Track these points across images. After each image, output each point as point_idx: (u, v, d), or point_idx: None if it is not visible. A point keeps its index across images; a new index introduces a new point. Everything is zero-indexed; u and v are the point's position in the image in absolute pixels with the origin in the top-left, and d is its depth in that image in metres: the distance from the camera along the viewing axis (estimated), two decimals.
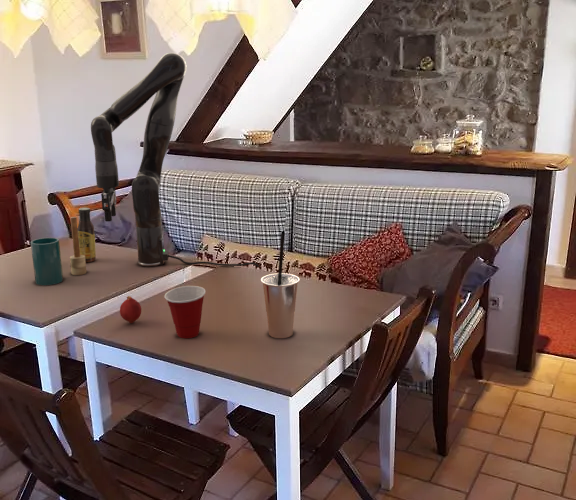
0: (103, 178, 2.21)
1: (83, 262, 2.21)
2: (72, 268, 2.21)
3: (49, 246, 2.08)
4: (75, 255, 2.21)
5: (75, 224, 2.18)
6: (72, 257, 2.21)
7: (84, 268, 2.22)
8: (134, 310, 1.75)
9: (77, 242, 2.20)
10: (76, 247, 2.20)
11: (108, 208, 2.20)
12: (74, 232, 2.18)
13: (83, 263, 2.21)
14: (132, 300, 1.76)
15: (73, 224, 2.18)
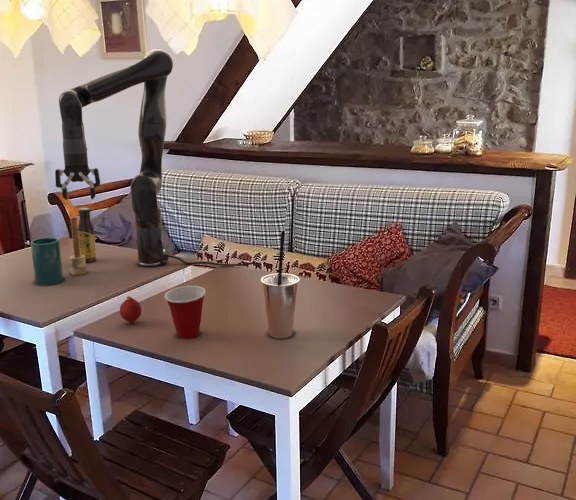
0: None
1: (83, 262, 2.21)
2: (72, 268, 2.21)
3: (49, 246, 2.08)
4: (75, 255, 2.21)
5: (75, 224, 2.18)
6: (72, 257, 2.21)
7: (84, 268, 2.22)
8: (133, 310, 1.75)
9: (77, 242, 2.20)
10: (76, 247, 2.20)
11: None
12: (74, 232, 2.18)
13: (83, 263, 2.21)
14: (132, 300, 1.76)
15: (73, 224, 2.18)
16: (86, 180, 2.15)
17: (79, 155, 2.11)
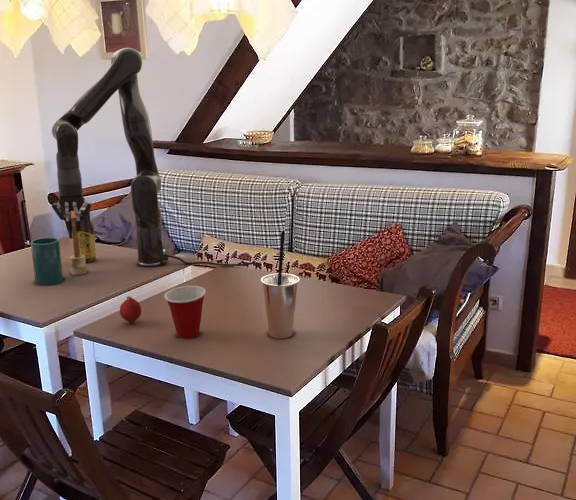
0: None
1: (83, 262, 2.21)
2: (72, 268, 2.21)
3: (49, 246, 2.08)
4: (75, 255, 2.21)
5: (75, 224, 2.18)
6: (72, 257, 2.21)
7: (84, 268, 2.22)
8: (134, 310, 1.75)
9: (77, 242, 2.20)
10: (76, 247, 2.20)
11: None
12: (74, 232, 2.18)
13: (83, 263, 2.21)
14: (132, 300, 1.76)
15: (73, 224, 2.18)
16: (76, 212, 2.16)
17: (73, 185, 2.12)
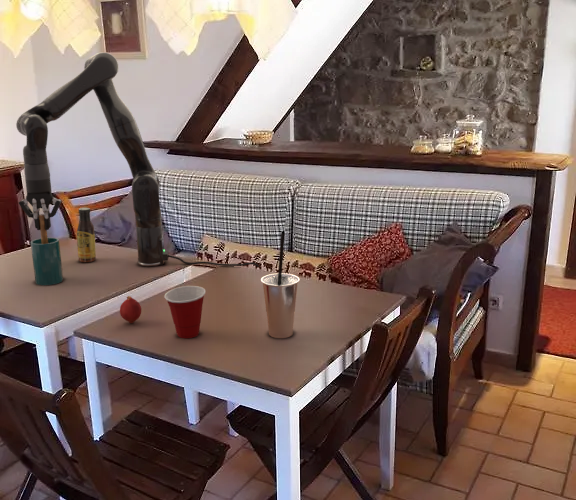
0: None
1: None
2: None
3: (49, 246, 2.08)
4: None
5: (43, 222, 2.09)
6: None
7: None
8: (134, 310, 1.75)
9: (46, 241, 2.11)
10: None
11: None
12: (42, 230, 2.09)
13: None
14: (132, 300, 1.76)
15: (41, 221, 2.09)
16: (44, 209, 2.07)
17: (40, 181, 2.03)
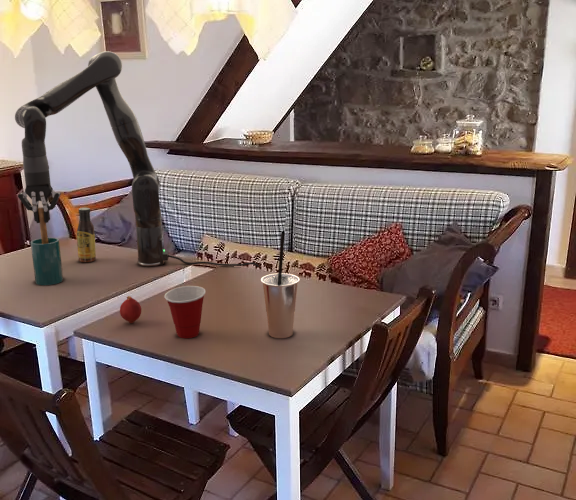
0: None
1: None
2: None
3: (49, 246, 2.08)
4: None
5: (43, 215, 2.08)
6: None
7: None
8: (134, 310, 1.75)
9: (45, 234, 2.10)
10: (45, 239, 2.10)
11: None
12: (42, 223, 2.09)
13: None
14: (132, 300, 1.76)
15: (40, 214, 2.08)
16: (43, 202, 2.06)
17: (39, 174, 2.02)
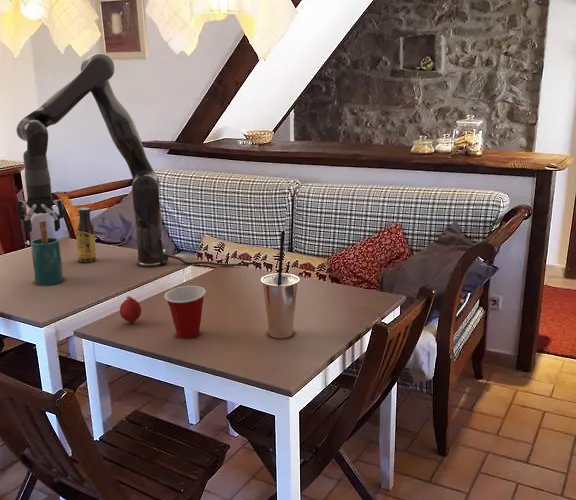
0: None
1: None
2: None
3: (49, 246, 2.08)
4: None
5: (44, 228, 2.10)
6: None
7: None
8: (134, 310, 1.75)
9: None
10: None
11: None
12: (43, 236, 2.10)
13: None
14: (132, 300, 1.76)
15: (42, 227, 2.09)
16: (49, 212, 2.07)
17: (41, 187, 2.03)
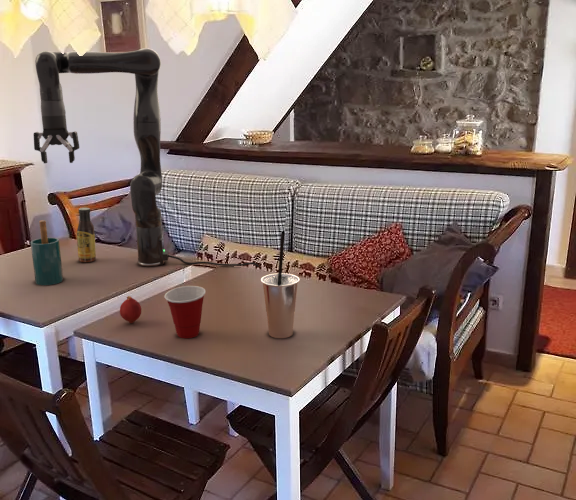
0: None
1: None
2: None
3: (49, 246, 2.08)
4: None
5: (44, 228, 2.10)
6: None
7: None
8: (134, 310, 1.75)
9: None
10: None
11: None
12: (43, 236, 2.10)
13: None
14: (132, 300, 1.76)
15: (42, 227, 2.09)
16: (64, 143, 2.13)
17: (56, 117, 2.09)
